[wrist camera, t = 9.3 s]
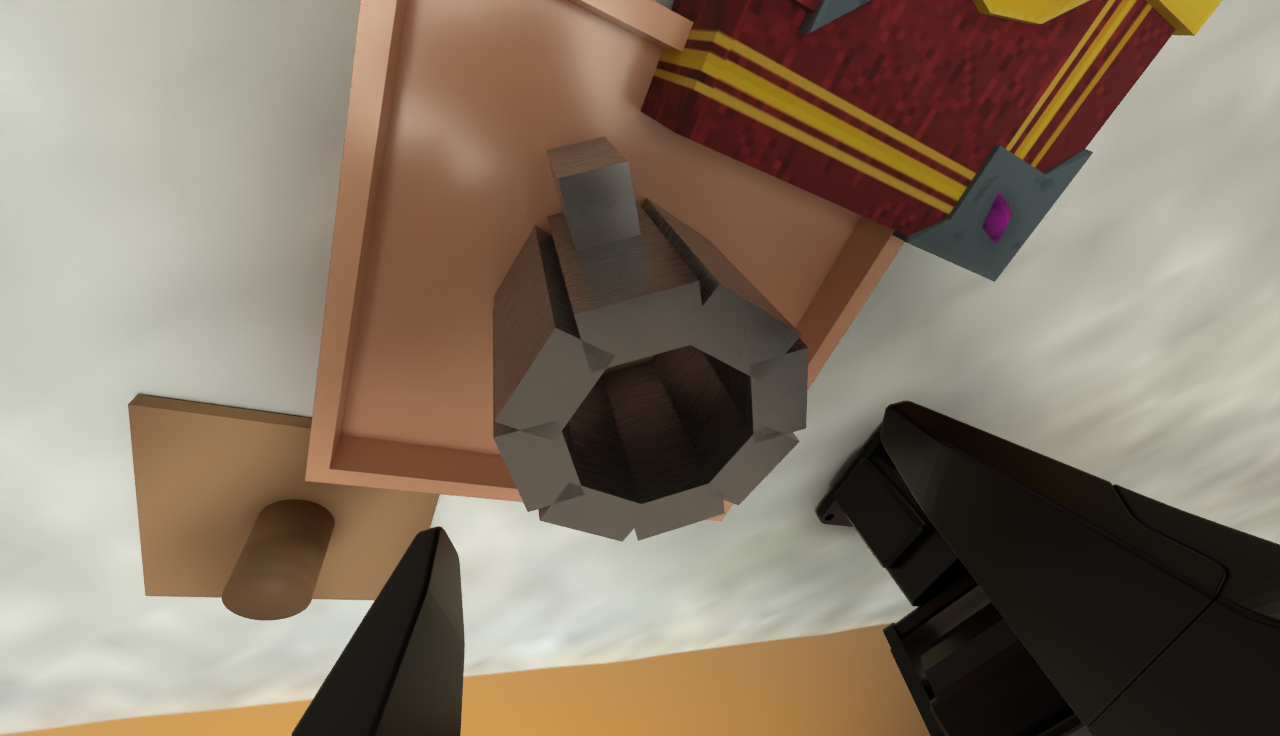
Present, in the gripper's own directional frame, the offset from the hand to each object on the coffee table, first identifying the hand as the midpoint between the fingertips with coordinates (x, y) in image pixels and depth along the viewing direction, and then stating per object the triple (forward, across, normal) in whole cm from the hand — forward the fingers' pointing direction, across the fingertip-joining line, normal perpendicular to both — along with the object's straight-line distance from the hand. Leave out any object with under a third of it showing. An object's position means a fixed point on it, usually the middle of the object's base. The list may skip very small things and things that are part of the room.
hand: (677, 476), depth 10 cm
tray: (+8, 0, 0) cm, 9 cm away
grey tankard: (+8, 0, +1) cm, 8 cm away
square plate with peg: (+8, +12, +6) cm, 16 cm away
